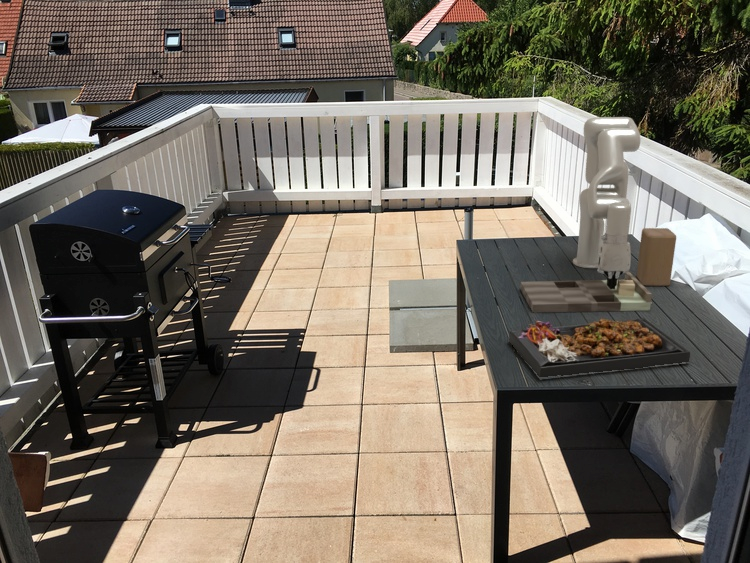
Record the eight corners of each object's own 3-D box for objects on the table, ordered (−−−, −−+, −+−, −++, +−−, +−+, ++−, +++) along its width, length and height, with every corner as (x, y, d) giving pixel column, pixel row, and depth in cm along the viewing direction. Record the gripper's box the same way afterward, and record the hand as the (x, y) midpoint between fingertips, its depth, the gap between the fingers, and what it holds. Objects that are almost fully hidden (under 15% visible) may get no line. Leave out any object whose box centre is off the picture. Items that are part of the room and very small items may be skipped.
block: (662, 277, 254) (668, 227, 247) (670, 286, 245) (677, 235, 238) (635, 277, 255) (641, 227, 248) (642, 286, 246) (649, 235, 239)
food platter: (539, 382, 183) (541, 349, 179) (508, 344, 205) (510, 313, 202) (688, 366, 189) (693, 333, 185) (642, 330, 212) (646, 301, 208)
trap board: (520, 289, 247) (521, 274, 245) (627, 287, 245) (629, 271, 243) (532, 312, 226) (533, 296, 224) (649, 310, 225) (651, 294, 223)
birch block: (616, 290, 235) (617, 279, 234) (631, 290, 234) (632, 280, 233) (618, 295, 230) (619, 284, 229) (633, 296, 229) (635, 285, 228)
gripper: (597, 242, 224) (593, 292, 230) (642, 241, 224) (636, 291, 230) (591, 235, 231) (587, 284, 238) (634, 235, 231) (628, 283, 237)
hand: (611, 287), depth 234 cm, fingers closed
